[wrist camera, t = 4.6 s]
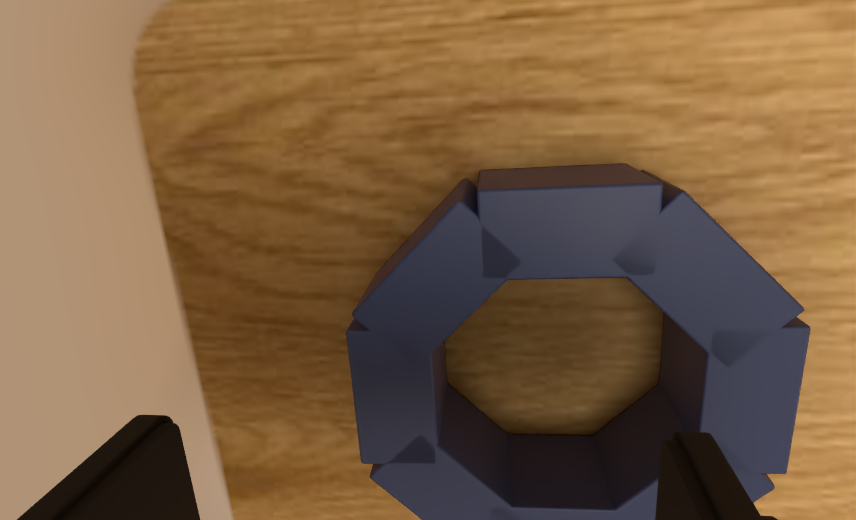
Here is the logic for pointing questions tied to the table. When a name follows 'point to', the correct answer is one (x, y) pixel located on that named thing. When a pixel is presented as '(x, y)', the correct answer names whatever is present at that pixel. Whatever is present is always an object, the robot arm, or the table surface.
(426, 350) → the ring
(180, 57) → the table surface
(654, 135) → the table surface
